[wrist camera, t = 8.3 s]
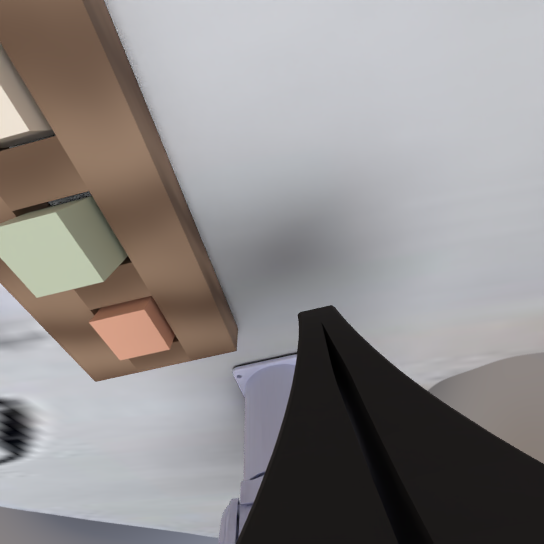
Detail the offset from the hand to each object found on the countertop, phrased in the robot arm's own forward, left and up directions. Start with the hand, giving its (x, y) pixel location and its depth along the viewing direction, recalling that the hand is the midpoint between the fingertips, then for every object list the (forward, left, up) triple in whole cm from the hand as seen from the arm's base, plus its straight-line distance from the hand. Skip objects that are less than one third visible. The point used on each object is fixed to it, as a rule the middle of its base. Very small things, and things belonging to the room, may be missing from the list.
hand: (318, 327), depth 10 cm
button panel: (+4, +12, -9) cm, 16 cm away
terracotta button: (-3, +12, -9) cm, 15 cm away
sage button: (+4, +12, -7) cm, 15 cm away
